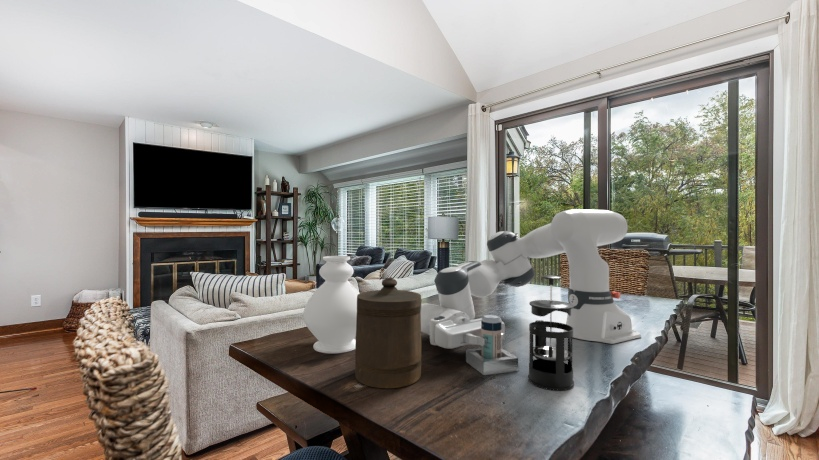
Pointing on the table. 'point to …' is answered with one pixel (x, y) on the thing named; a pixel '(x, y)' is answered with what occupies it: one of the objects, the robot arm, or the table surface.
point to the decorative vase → (333, 308)
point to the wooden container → (388, 337)
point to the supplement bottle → (491, 336)
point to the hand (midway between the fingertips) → (494, 339)
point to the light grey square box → (492, 362)
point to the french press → (549, 359)
